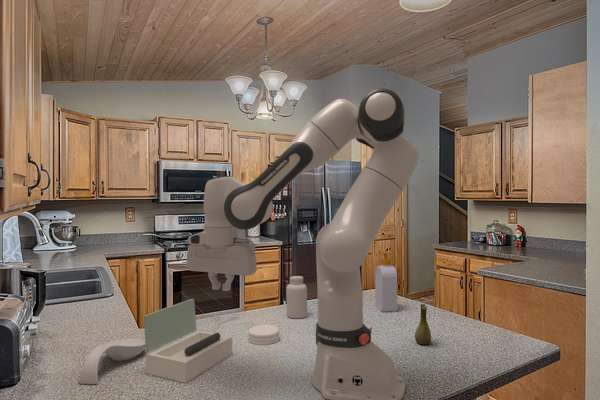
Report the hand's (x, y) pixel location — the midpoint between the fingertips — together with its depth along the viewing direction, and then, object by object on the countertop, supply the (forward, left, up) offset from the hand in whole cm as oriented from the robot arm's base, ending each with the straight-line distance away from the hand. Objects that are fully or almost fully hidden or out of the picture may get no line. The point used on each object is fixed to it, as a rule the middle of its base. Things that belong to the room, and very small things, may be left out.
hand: (221, 289), depth 104 cm
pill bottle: (+2, -51, -21) cm, 55 cm away
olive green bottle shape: (-46, -41, -21) cm, 65 cm away
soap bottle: (-27, -74, -21) cm, 82 cm away
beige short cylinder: (+1, -24, -22) cm, 32 cm away
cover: (+17, 0, -11) cm, 20 cm away
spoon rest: (+29, +9, -22) cm, 37 cm away
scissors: (+24, -31, -22) cm, 45 cm away
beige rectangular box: (+11, 0, -21) cm, 24 cm away
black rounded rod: (+6, 0, -16) cm, 17 cm away
